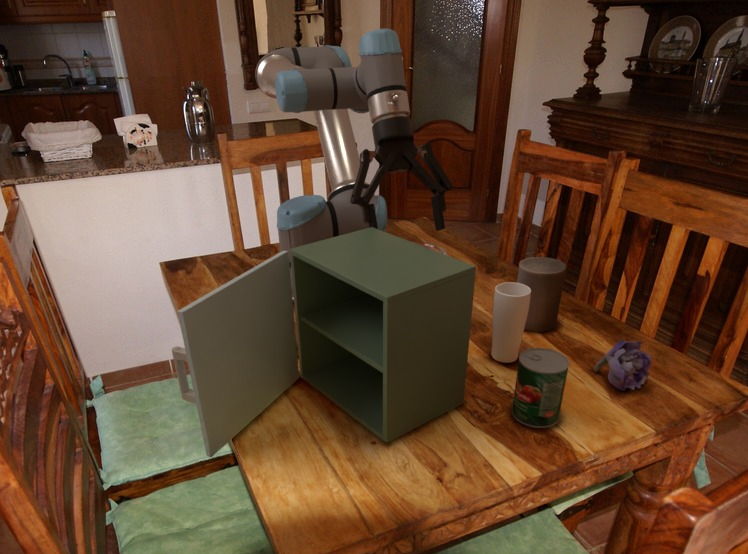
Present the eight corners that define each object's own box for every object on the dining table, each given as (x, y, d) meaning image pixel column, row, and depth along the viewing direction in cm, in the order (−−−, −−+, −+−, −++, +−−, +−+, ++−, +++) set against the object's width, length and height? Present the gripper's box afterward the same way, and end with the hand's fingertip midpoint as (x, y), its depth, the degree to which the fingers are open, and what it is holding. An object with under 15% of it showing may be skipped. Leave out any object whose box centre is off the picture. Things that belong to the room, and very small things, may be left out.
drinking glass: (522, 367, 112) (533, 297, 105) (487, 364, 113) (494, 295, 106) (520, 350, 118) (530, 282, 110) (487, 347, 119) (494, 280, 112)
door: (181, 446, 94) (149, 303, 81) (272, 370, 113) (258, 246, 100) (211, 457, 91) (182, 312, 78) (299, 378, 111) (288, 251, 98)
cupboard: (386, 443, 93) (387, 297, 80) (300, 376, 111) (289, 248, 98) (463, 403, 102) (476, 266, 89) (372, 347, 120) (371, 226, 107)
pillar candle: (566, 326, 126) (578, 262, 119) (531, 336, 123) (541, 270, 115) (535, 309, 134) (545, 247, 126) (502, 318, 131) (509, 255, 123)
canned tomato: (567, 414, 99) (579, 359, 93) (543, 434, 94) (553, 378, 89) (527, 396, 104) (535, 343, 98) (502, 414, 99) (509, 359, 94)
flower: (579, 345, 106) (636, 336, 99) (595, 346, 112) (650, 338, 106) (586, 395, 105) (644, 389, 98) (601, 393, 111) (657, 388, 105)
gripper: (332, 120, 101) (352, 241, 104) (459, 108, 107) (475, 223, 110) (322, 133, 108) (341, 246, 111) (442, 121, 114) (458, 228, 117)
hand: (408, 234), depth 110 cm, fingers open, 13 cm apart
